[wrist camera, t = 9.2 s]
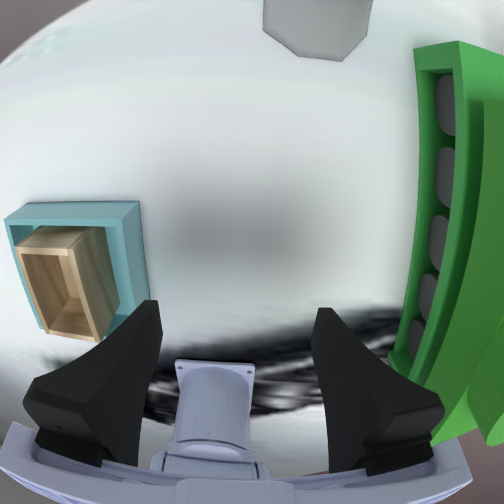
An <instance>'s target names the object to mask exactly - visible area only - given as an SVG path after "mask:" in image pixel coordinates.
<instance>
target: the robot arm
mask: <svg viewBox="0 0 504 504" xmlns="http://www.w3.org/2000/svg"><path fill="white" fill-rule="evenodd" d="M162 336H163V331H162V325H161V319H160V313H159V306H158V301H157V300H144V301H143V302H142V303H141V304H140V305H139V306H138V307H137V308H136V309H135V310H134V311H133V312H132V313H131V314H130V315H129V316H128V317H127V318H126V319H125V320H124V321H123V322H122V323H121V324H120V325H119V326H118V327H117V328H116V329H115V330H114V331H113V332H112V333H111V334H110V335H108V336H107V337H106V338H105V339H104V340H103V341H102V342H100V343H99V344H98V345H96V346H95V347H94V348H92V349H91V350H90V351H88V352H87V353H85V354H84V355H82V356H80V357H79V358H77V359H76V360H74V361H72V362H70V363H69V364H67V365H65V366H63V367H61V368H59V369H57V370H54V371H52V372H50V373H47V374H45V375H42V376H39V377H37V378H34V380H33V382H32V383H31V385H30V387H29V389H28V391H27V393H26V395H25V397H24V399H23V406H24V408H25V410H26V411H27V413H28V414H29V415H30V416H31V418H32V419H33V420H34V421H35V422H36V424H37V425H38V426H39V427H40V428H39V431H38V433H37V432H36V431H34V430H33V429H31V428H28V427H26V426H24V425H21V424H19V423H17V422H12V424H11V427H10V429H9V431H8V433H7V436H6V438H5V440H4V443H3V445H2V448H1V450H0V469H2V470H3V471H4V472H5V473H7V474H8V475H9V476H11V477H12V478H14V479H15V480H16V481H18V482H19V483H21V484H22V485H23V486H25V487H27V488H29V489H31V490H33V491H35V492H37V493H39V494H41V495H43V496H45V497H48V498H50V499H52V500H54V501H57V502H59V503H61V504H434V503H436V502H438V501H441V500H443V499H445V498H446V497H448V496H449V495H451V494H453V493H455V492H456V491H458V490H459V489H461V488H462V487H464V486H465V485H467V484H468V483H469V482H471V481H472V480H473V478H472V476H471V473H470V470H469V467H468V465H467V462H466V459H465V457H464V454H463V452H462V449H461V447H460V444H459V442H458V439H457V438H456V437H455V438H452V439H449V440H446V441H443V442H440V443H438V444H436V445H434V446H432V447H431V444H430V442H429V441H431V440H432V436H431V433H430V432H431V431H432V430H433V429H434V428H435V427H436V426H437V425H438V424H439V422H440V421H441V420H442V419H443V417H444V415H445V412H446V411H445V408H444V405H443V403H442V401H441V399H440V397H439V395H438V393H435V392H433V391H431V390H429V389H426V388H424V387H422V386H420V385H418V384H416V383H414V382H413V381H411V380H409V379H407V378H406V377H404V376H402V375H401V374H399V373H398V372H396V371H395V370H394V369H392V368H391V367H389V366H388V365H387V364H385V363H384V362H383V361H382V360H381V359H379V358H378V357H377V356H376V355H375V354H373V353H372V352H371V351H370V350H369V349H368V348H367V347H366V346H365V345H364V344H363V343H362V342H361V341H360V340H359V339H358V338H357V337H356V336H355V334H354V333H353V332H352V331H351V330H350V329H349V328H348V327H347V325H346V324H345V323H344V322H343V321H342V319H341V318H340V317H339V316H338V315H337V314H336V312H335V311H334V310H333V309H332V308H318V312H317V317H316V321H315V325H314V329H313V332H312V336H311V348H312V356H313V362H314V366H315V370H316V374H317V378H318V381H319V385H320V389H321V393H322V397H323V402H324V408H325V416H326V425H327V436H328V452H329V474H324V475H316V476H315V475H314V476H303V477H289V478H270V474H269V471H268V468H267V467H266V466H265V465H264V464H263V462H262V461H255V452H254V451H250V415H249V413H250V409H251V400H252V392H253V383H254V374H255V365H254V364H252V363H230V362H211V361H197V360H184V359H177V360H176V361H175V368H176V373H177V379H178V384H179V389H180V396H179V402H178V408H177V414H176V420H175V426H174V432H173V439H172V442H169V445H168V452H167V451H163V450H160V451H159V452H158V453H157V454H155V455H154V456H153V458H152V461H151V465H150V469H144V468H139V467H138V451H139V440H140V431H141V423H142V416H143V410H144V404H145V399H146V395H147V391H148V387H149V384H150V381H151V378H152V375H153V372H154V368H155V365H156V362H157V359H158V356H159V352H160V347H161V342H162Z"/></svg>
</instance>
